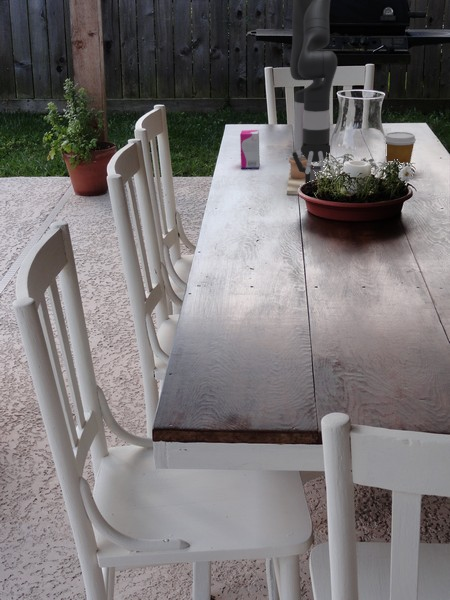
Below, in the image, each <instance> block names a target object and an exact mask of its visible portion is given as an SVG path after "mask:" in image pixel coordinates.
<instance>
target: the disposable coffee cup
mask: <svg viewBox="0 0 450 600" xmlns="http://www.w3.org/2000/svg"><path fill="white" fill-rule="evenodd" d="M384 138H386V144H387V156H386V155H385V162H388V161H394V159H395V158H397V159H398V161H399V162H400V163H403V162H408V163H410V164H411V161H412V155H413V151H414V146H415V145H414V144H415V142H416V140H417V139H416V136H415V134H414V133H412V132H407V131H393V132H387V133H386V134H385V136H384Z"/></svg>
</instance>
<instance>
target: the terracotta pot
mask: <svg viewBox="0 0 450 600" xmlns="http://www.w3.org/2000/svg"><path fill="white" fill-rule="evenodd" d="M300 161H301V163H302V165H303V167H306V164H307V159H306V158H305V156H304V155H301V157H300ZM288 163H289V164H290V169H291V178H293V179H304V178H305V173H304V172H300V171H299V169H298V167H297V165H296V162H295V160H294V158H293V156H291V157H289V158H288Z"/></svg>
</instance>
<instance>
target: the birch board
mask: <svg viewBox="0 0 450 600" xmlns="http://www.w3.org/2000/svg"><path fill="white" fill-rule="evenodd" d="M313 166H314V168H312V167H310V181H312V180H315V179H316V176H315V174H314V171H315V172H316V173H317V172H318V171H321V167H320V165H313ZM313 170H314V171H313ZM303 183H305V178H304V179H293V178H291V168H290V169H289V174H288V181H287V188H286V195H298V194H297V190H298V188H299V187H300V185H302V184H303Z"/></svg>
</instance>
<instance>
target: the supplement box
mask: <svg viewBox="0 0 450 600" xmlns="http://www.w3.org/2000/svg"><path fill="white" fill-rule="evenodd" d="M239 135H240V136H239V140H240V168H241V170H259V169H260V165H261V164H260V131H259V129H251V130H250V129H249V130H241V132H240V134H239Z"/></svg>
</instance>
